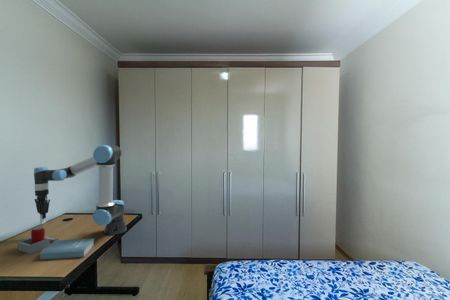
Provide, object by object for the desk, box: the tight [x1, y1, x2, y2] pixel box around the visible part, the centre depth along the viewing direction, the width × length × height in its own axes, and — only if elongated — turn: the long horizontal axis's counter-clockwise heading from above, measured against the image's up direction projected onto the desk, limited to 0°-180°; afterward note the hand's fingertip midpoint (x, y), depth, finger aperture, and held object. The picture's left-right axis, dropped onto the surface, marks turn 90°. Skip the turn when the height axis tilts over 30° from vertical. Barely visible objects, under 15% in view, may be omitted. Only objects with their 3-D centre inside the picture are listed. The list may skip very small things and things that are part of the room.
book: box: [39, 237, 95, 260], centre depth 143 cm, size 23×16×5 cm
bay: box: [17, 237, 59, 255], centre depth 149 cm, size 14×15×5 cm
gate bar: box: [45, 236, 54, 244], centre depth 155 cm, size 12×2×4 cm, turn 68°
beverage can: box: [30, 225, 46, 244], centre depth 149 cm, size 7×7×12 cm
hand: (43, 223), depth 164 cm, fingers closed
